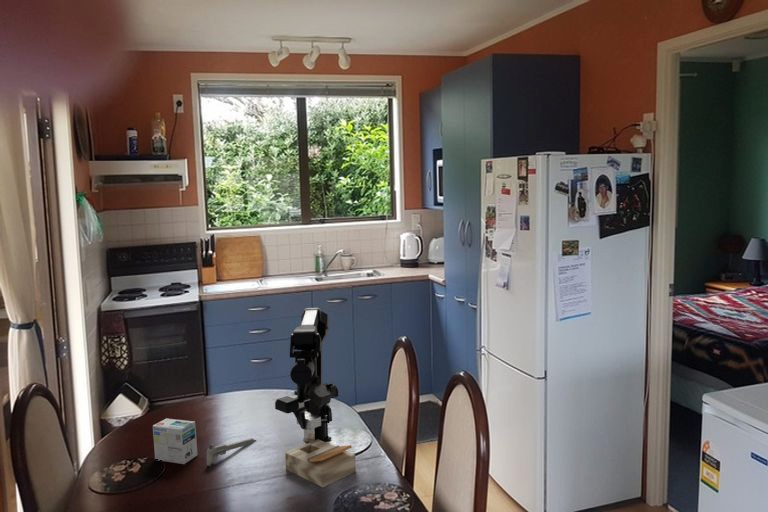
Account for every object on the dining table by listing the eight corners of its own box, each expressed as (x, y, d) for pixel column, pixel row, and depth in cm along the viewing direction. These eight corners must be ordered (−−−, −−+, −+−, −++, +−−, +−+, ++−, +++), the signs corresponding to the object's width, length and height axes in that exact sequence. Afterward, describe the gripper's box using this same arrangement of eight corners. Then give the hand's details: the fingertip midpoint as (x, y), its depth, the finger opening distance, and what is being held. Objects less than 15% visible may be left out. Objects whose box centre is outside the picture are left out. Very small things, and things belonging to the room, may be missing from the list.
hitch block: (285, 469, 177) (285, 452, 177) (318, 455, 186) (318, 439, 185) (322, 487, 166) (322, 469, 165) (355, 471, 174) (355, 454, 174)
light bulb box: (198, 455, 188) (196, 420, 187) (184, 465, 182) (182, 429, 180) (168, 451, 192) (166, 417, 190) (153, 460, 185) (151, 425, 184)
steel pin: (307, 434, 182) (306, 411, 181) (321, 440, 177) (320, 416, 176) (297, 438, 179) (296, 415, 178) (311, 444, 175) (310, 420, 174)
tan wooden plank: (307, 462, 170) (307, 458, 170) (338, 449, 178) (337, 445, 178) (321, 460, 166) (320, 457, 166) (351, 447, 174) (350, 444, 174)
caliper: (209, 467, 180) (208, 447, 179) (206, 467, 180) (205, 446, 180) (256, 441, 198) (255, 422, 197) (253, 440, 198) (252, 421, 197)
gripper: (297, 388, 164) (300, 445, 165) (350, 371, 177) (352, 424, 179) (272, 379, 171) (275, 434, 173) (324, 363, 185) (326, 414, 186)
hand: (308, 426), depth 178 cm, fingers closed on steel pin, 4 cm apart
